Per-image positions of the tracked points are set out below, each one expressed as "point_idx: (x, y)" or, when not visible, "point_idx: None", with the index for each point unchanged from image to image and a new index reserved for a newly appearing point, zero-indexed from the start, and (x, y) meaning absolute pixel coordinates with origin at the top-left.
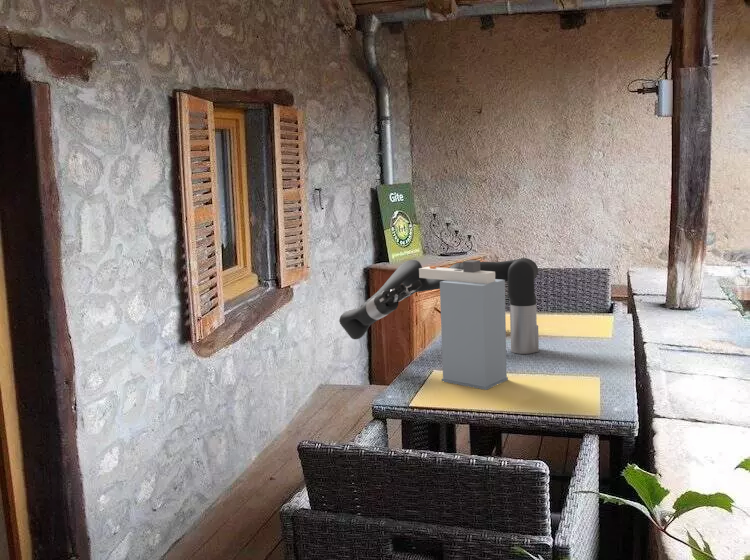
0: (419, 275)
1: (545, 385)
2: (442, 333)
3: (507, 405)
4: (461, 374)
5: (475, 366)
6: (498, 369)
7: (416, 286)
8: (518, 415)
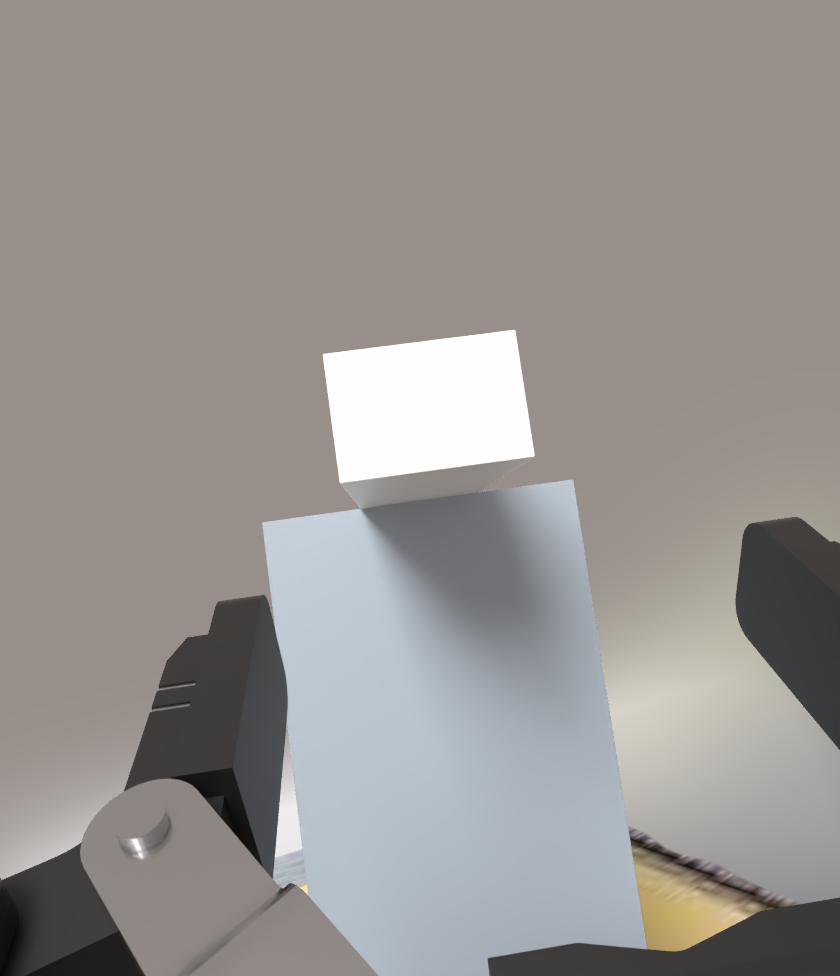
0: (527, 425)
1: None
2: (638, 912)
3: (655, 911)
4: None
5: None
6: None
7: (274, 751)
8: (688, 860)
